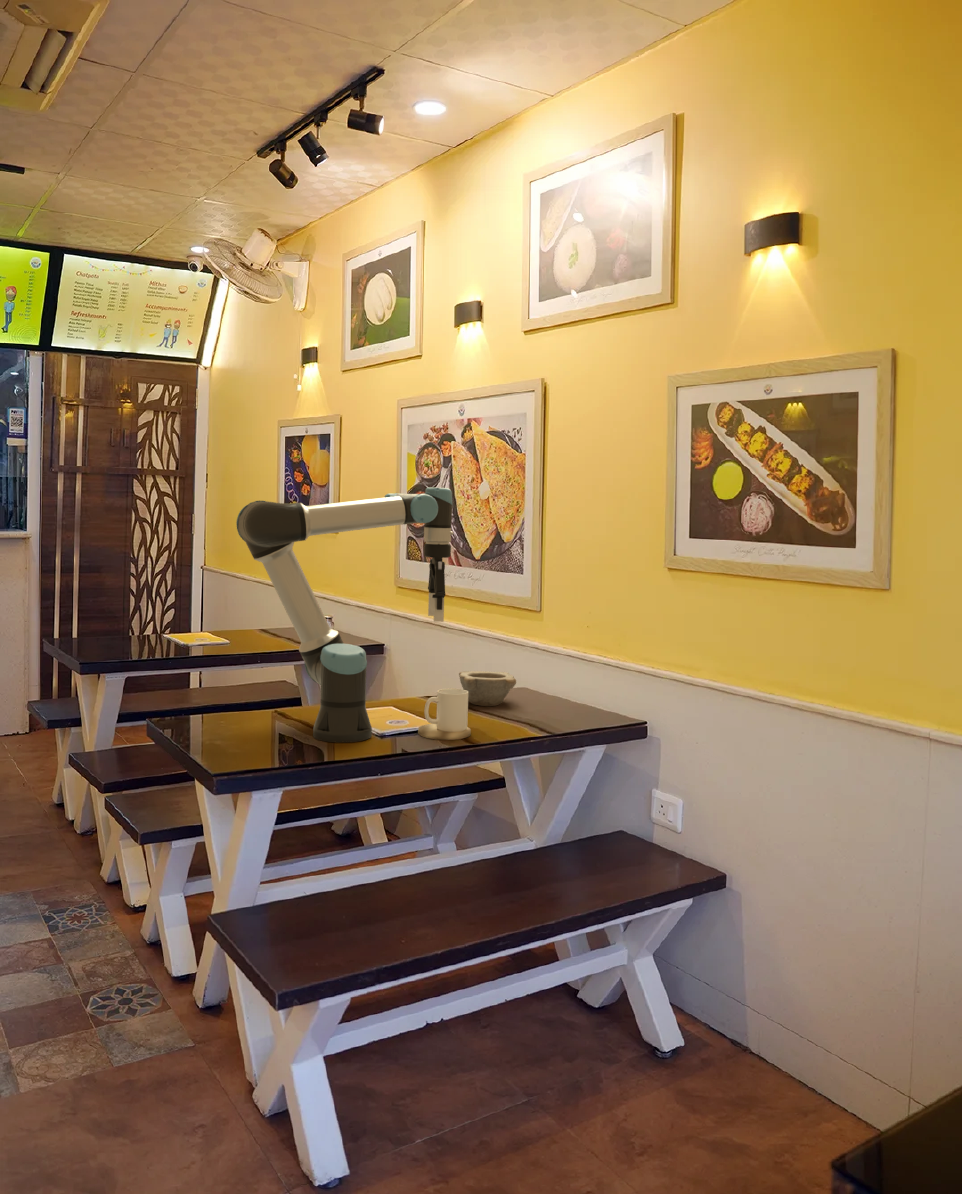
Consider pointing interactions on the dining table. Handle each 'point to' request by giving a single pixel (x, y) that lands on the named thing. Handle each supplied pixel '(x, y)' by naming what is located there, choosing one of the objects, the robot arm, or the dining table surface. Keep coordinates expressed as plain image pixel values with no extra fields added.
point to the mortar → (486, 686)
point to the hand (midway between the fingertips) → (435, 618)
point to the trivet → (441, 733)
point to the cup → (449, 710)
